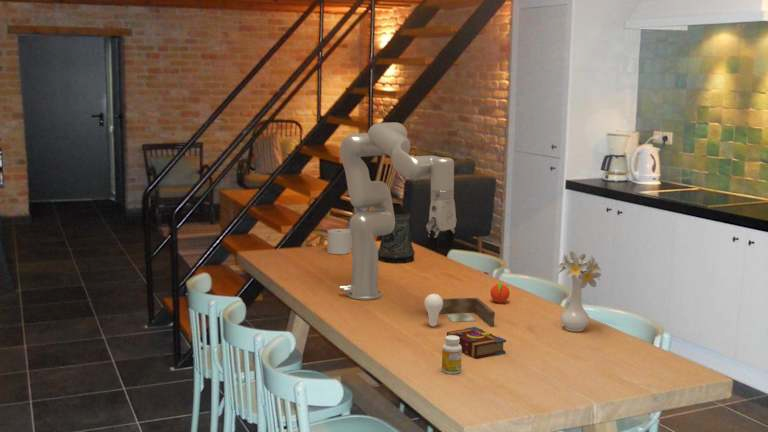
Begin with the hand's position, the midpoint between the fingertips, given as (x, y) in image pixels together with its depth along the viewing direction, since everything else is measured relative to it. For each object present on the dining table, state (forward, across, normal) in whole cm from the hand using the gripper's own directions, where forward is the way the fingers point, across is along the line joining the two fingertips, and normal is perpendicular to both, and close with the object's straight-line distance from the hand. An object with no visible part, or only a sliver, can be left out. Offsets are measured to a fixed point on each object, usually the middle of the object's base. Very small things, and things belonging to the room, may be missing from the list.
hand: (441, 247), depth 277 cm
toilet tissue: (+22, +65, +95) cm, 117 cm away
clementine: (+26, +34, -4) cm, 43 cm away
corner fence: (+25, +7, -3) cm, 26 cm away
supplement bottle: (+27, -38, -27) cm, 54 cm away
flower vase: (+27, +21, -39) cm, 52 cm away
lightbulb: (+26, -6, -1) cm, 26 cm away
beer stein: (+23, +68, +67) cm, 98 cm away
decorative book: (+27, -17, -22) cm, 39 cm away
